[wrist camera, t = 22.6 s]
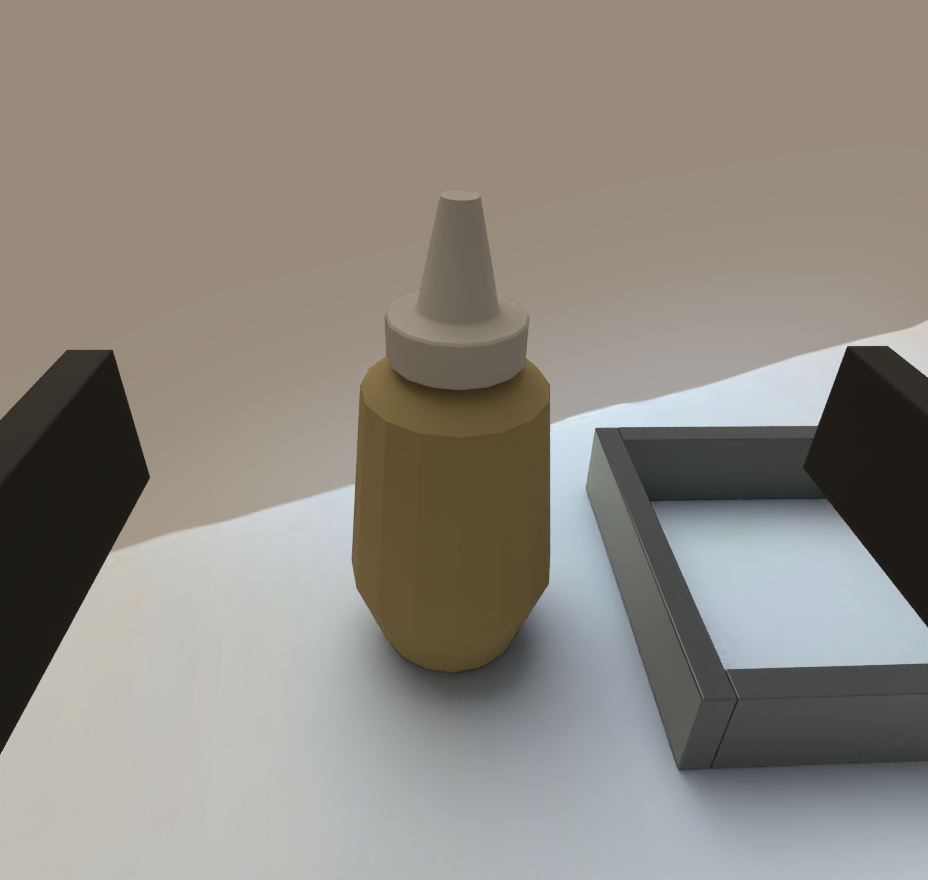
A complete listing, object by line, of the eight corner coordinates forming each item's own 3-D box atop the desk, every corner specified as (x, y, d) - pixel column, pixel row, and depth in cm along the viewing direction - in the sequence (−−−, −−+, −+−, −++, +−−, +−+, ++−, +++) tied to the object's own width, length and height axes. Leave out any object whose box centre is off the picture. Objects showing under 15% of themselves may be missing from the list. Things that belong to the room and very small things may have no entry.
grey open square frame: (869, 484, 39) (896, 425, 37) (1111, 753, 25) (1176, 685, 23) (585, 487, 38) (594, 427, 36) (677, 770, 24) (702, 700, 22)
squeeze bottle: (561, 580, 32) (620, 179, 22) (514, 726, 26) (568, 257, 16) (402, 538, 34) (390, 155, 24) (322, 664, 28) (261, 214, 18)
